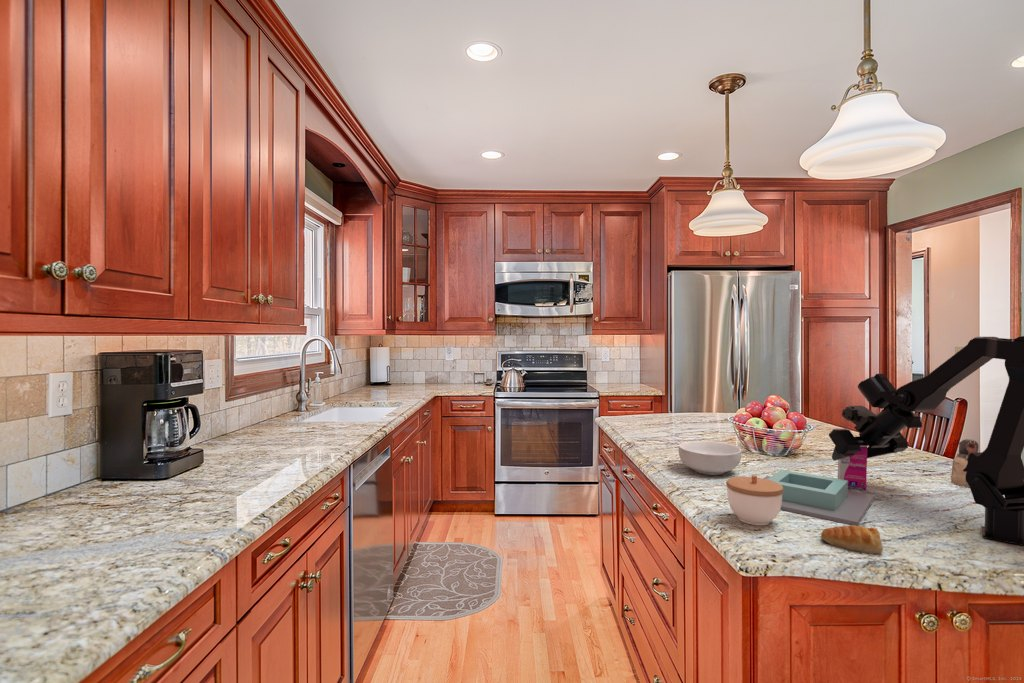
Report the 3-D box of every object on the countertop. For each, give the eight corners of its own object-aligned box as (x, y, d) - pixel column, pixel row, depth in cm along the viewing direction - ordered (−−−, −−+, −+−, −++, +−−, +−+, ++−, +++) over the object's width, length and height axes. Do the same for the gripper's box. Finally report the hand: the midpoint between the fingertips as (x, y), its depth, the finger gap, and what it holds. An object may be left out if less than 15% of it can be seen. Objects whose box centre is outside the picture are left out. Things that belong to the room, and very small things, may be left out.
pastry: (824, 548, 95) (824, 527, 95) (818, 535, 101) (818, 516, 101) (885, 556, 91) (886, 535, 91) (875, 542, 97) (875, 522, 97)
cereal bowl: (671, 463, 155) (671, 440, 155) (727, 464, 155) (727, 440, 154) (688, 479, 138) (688, 453, 138) (751, 480, 138) (751, 454, 138)
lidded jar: (742, 530, 102) (742, 483, 102) (717, 511, 113) (717, 469, 113) (794, 529, 103) (794, 482, 103) (764, 510, 114) (764, 468, 114)
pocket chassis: (874, 498, 123) (875, 480, 123) (857, 526, 105) (857, 505, 105) (766, 478, 139) (767, 462, 139) (735, 500, 121) (736, 481, 121)
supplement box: (839, 487, 132) (840, 442, 131) (837, 481, 137) (838, 438, 137) (866, 490, 129) (867, 444, 129) (863, 484, 134) (864, 440, 134)
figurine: (985, 484, 135) (986, 438, 134) (989, 490, 129) (990, 443, 129) (949, 479, 139) (950, 435, 139) (952, 485, 133) (952, 439, 133)
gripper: (898, 395, 130) (859, 430, 141) (835, 397, 126) (800, 433, 137) (928, 432, 123) (885, 466, 134) (863, 435, 119) (824, 470, 130)
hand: (848, 458), depth 134 cm, fingers open, 9 cm apart
